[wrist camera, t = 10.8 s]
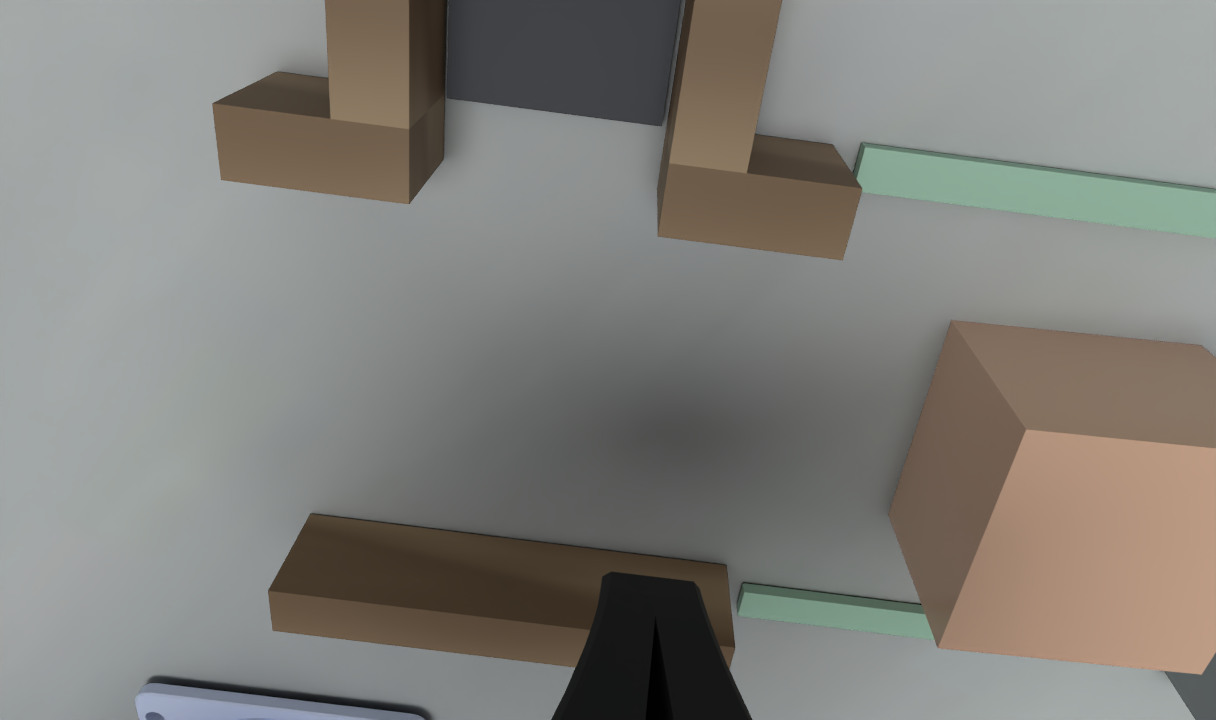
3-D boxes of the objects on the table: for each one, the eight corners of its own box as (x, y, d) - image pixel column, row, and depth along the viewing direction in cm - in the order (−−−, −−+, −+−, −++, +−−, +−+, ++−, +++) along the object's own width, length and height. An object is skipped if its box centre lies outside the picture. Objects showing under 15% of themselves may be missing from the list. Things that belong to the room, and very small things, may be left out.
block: (1102, 532, 19) (1201, 674, 16) (886, 510, 19) (937, 648, 16) (1197, 342, 17) (1338, 461, 13) (949, 317, 17) (1025, 429, 13)
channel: (717, 601, 21) (724, 685, 19) (313, 551, 21) (272, 630, 18) (899, -124, 13) (949, -125, 11) (255, -213, 13) (173, -231, 11)
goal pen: (1218, 671, 21) (1283, 762, 19) (735, 612, 21) (744, 696, 19) (1536, 220, 15) (1684, 276, 13) (864, 131, 15) (900, 173, 13)
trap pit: (661, 121, 15) (662, 126, 15) (450, 94, 15) (446, 98, 15) (689, -65, 14) (690, -63, 13) (455, -96, 13) (451, -96, 13)
